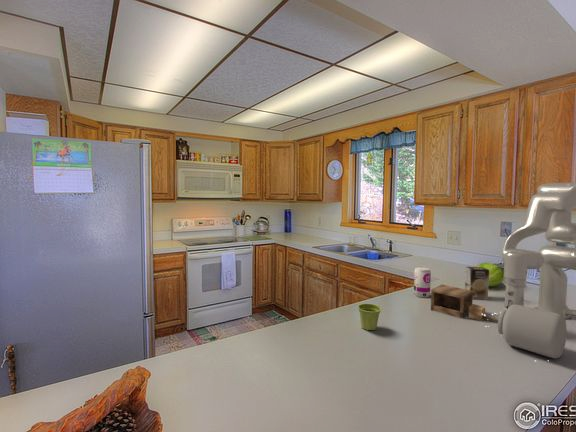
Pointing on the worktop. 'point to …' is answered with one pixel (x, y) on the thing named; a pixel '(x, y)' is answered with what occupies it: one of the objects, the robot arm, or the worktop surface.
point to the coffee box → (477, 282)
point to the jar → (533, 330)
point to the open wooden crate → (451, 300)
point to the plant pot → (369, 315)
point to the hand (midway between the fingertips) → (512, 324)
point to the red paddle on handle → (478, 313)
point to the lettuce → (493, 273)
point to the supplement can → (422, 282)
